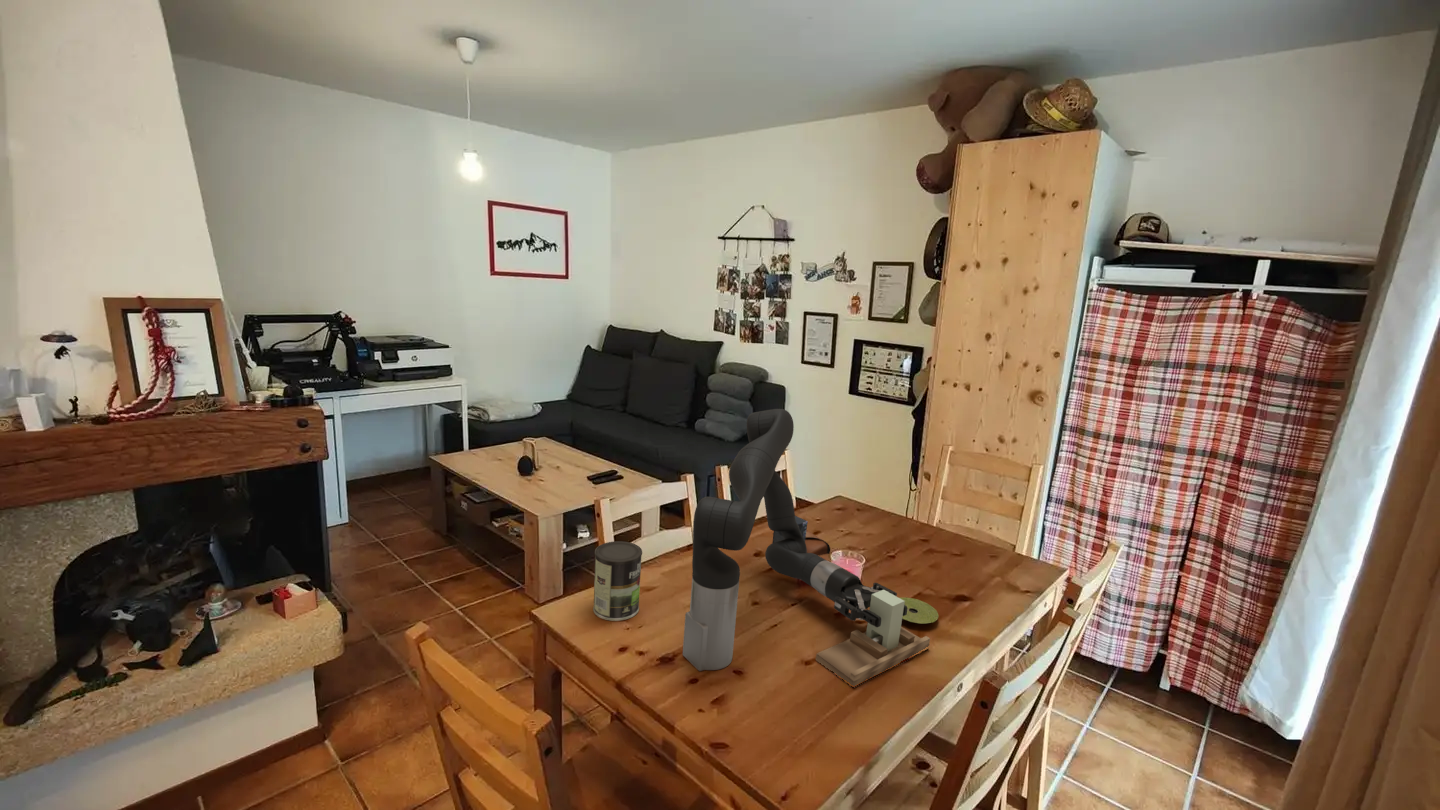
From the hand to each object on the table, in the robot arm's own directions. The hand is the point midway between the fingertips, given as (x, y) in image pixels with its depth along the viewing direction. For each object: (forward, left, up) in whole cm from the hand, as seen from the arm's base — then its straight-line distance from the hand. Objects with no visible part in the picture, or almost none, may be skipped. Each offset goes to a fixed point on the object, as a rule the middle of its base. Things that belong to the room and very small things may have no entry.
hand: (893, 617), depth 126 cm
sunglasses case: (+21, +49, -9) cm, 54 cm away
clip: (0, +2, -7) cm, 7 cm away
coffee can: (-41, +43, -9) cm, 60 cm away
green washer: (+17, +6, -9) cm, 20 cm away
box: (+12, +44, -9) cm, 47 cm away
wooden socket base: (-3, +1, -8) cm, 9 cm away
